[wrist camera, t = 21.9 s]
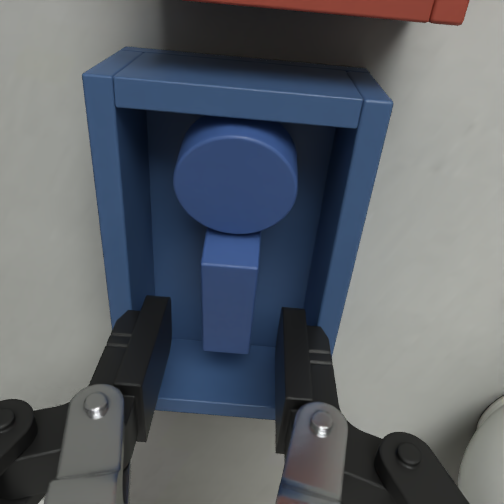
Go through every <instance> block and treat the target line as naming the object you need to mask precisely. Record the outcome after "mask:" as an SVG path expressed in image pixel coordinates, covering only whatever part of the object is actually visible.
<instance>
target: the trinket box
mask: <svg viewBox="0 0 504 504" xmlns="http://www.w3.org/2000/svg"><path fill="white" fill-rule="evenodd" d="M458 488H459V489H460V491H461V492H462V494H463V495H464V496H465V498H466V499H467V501H468V502H469V503H470V504H504V396H502V397H501V398H499V399H498V400H496V401H495V402H494V403H493V404H492V405H490V406H489V407H488V408H487V410H486V411H485V412H484V413H483V414H482V416H481V418H480V420H479V422H478V425H477V430H476V432H475V434H474V435H473V437H472V439H471V440H470V442H469V444H468V446H467V448H466V450H465V452H464V456H463V459H462V462H461V466H460V470H459V475H458Z"/></svg>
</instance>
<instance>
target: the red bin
mask: <svg viewBox="0 0 504 504" xmlns="http://www.w3.org/2000/svg"><path fill="white" fill-rule="evenodd" d="M184 1H195V2H205V3H216V4H227V5H238V6H249V7H260V8H270V9H281V10H292V11H303V12H314V13H325V14H335V15H346V16H357V17H368V18H379V19H389V20H400V21H411V22H422V23H426V22H430V23H434V24H445V25H456V26H458V25H461V24H462V23H463V20H464V17H465V14H466V10H467V7H468V4H469V0H184Z"/></svg>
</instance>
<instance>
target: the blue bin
mask: <svg viewBox="0 0 504 504" xmlns="http://www.w3.org/2000/svg"><path fill="white" fill-rule="evenodd" d="M82 80H83V88H84V97H85V105H86V114H87V122H88V130H89V139H90V147H91V156H92V164H93V172H94V181H95V189H96V198H97V206H98V215H99V223H100V231H101V240H102V248H103V257H104V265H105V273H106V282H107V290H108V299H109V307H110V316H111V324H112V330H113V328H114V325H115V323H116V321H117V320H118V319H119V318H120V317H121V316H122V315H123V314H124V313H125V312H126V311H127V310H136V311H141V308H142V305H143V302H144V300H145V297H146V296H147V295H153V296H164V297H170V298H171V313H172V341H171V348H170V353H169V357H168V361H167V365H166V368H165V372H164V376H163V380H162V384H161V388H160V391H159V395H158V399H157V403H156V407H155V410H160V411H172V412H184V413H196V414H208V415H220V416H233V417H245V418H257V419H269V420H275V350H276V341H277V334H278V327H279V320H280V313H281V308H282V307H291V308H303V309H305V312H306V322H307V325H310V326H321V328H322V329H323V331H324V332H325V334H326V335H327V337H328V338H329V343H330V350H331V357H332V354H333V350H334V346H335V342H336V338H337V333H338V329H339V325H340V321H341V317H342V313H343V309H344V305H345V301H346V297H347V292H348V288H349V284H350V280H351V276H352V272H353V268H354V264H355V260H356V255H357V251H358V247H359V243H360V239H361V235H362V231H363V227H364V223H365V219H366V214H367V210H368V206H369V202H370V198H371V194H372V190H373V186H374V182H375V178H376V173H377V169H378V165H379V161H380V157H381V153H382V149H383V145H384V141H385V137H386V132H387V128H388V124H389V120H390V116H391V112H392V108H393V101H392V100H391V99H390V98H389V96H388V95H387V94H386V93H385V91H384V90H383V89H382V88H381V87H380V85H379V84H378V83H377V82H376V80H375V79H374V78H373V77H372V75H371V74H370V72H369V71H368V70H367V69H366V68H357V67H346V66H335V65H324V64H313V63H302V62H291V61H280V60H269V59H258V58H247V57H236V56H225V55H214V54H203V53H192V52H181V51H170V50H159V49H148V48H137V47H124V48H122V49H121V50H120V51H118V52H116V53H115V54H113V55H112V56H110V57H108V58H107V59H105V60H104V61H102V62H100V63H99V64H97V65H96V66H94V67H92V68H91V69H89V70H88V71H86V72H85V73H83V74H82ZM204 115H206V116H217V117H228V118H239V119H251V120H262V121H273V122H279V123H280V124H281V125H282V126H283V127H284V128H285V129H286V130H287V132H288V133H289V134H290V136H291V138H292V140H293V142H294V144H295V147H296V151H297V167H298V192H297V197H296V201H295V203H294V205H293V207H292V208H291V210H290V212H289V213H288V214H287V215H286V216H285V217H284V218H283V219H282V220H281V221H280V222H278V223H277V224H275V225H274V226H272V227H270V228H268V229H265V230H263V231H261V243H260V260H259V273H258V282H257V290H256V299H255V308H254V316H253V325H252V333H251V342H250V351H249V354H236V353H224V352H212V351H204V350H203V348H202V313H201V275H200V262H201V257H202V251H203V245H204V240H205V234H206V229H207V227H206V226H204V225H202V224H200V223H199V222H197V221H196V220H194V219H193V218H192V217H191V216H190V215H188V214H187V212H186V211H185V210H184V209H183V208H182V206H181V205H180V203H179V201H178V199H177V197H176V194H175V191H174V187H173V174H174V169H175V166H176V162H177V158H178V155H179V151H180V148H181V144H182V141H183V138H184V136H185V134H186V132H187V131H188V129H189V128H190V127H191V125H192V124H193V123H195V122H196V121H197V120H198V119H199V118H201V117H202V116H204Z"/></svg>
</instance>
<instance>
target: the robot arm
mask: <svg viewBox="0 0 504 504" xmlns="http://www.w3.org/2000/svg"><path fill="white" fill-rule="evenodd" d="M171 341H172V313H171V298H170V297H164V296H153V295H147V296H146V297H145V300H144V302H143V305H142V308H141V311H136V310H127V311H126V312H125V313H124V314H123V315H122V316H121V317H120V318H119V319H118V320H117V321H116V323H115V325H114V328H113V330H112V332H111V336H110V337H109V339H108V342H107V346H105V349H104V351H103V353H102V356H101V358H100V360H99V363H98V365H97V367H96V370H95V372H94V374H93V377H92V379H91V381H90V384H89V386H88V387H86V388H84V389H82V390H80V391H79V392H78V393H77V394H76V395H75V396H74V397H73V398H72V399H71V401H70V402H69V403H67V404H64V405H61V406H57V407H52V408H46V409H41V410H36V411H33V409H32V407H31V406H30V405H29V404H28V403H27V402H25V401H22V400H18V399H8V400H3V401H0V504H38V503H39V502H40V501H41V499H42V498H43V497H44V496H45V501H44V504H130V485H131V457H132V454H133V450H134V447H135V443H136V441H138V442H146V441H147V437H148V434H149V430H150V426H151V422H152V418H153V414H154V411H155V407H156V403H157V399H158V395H159V391H160V388H161V384H162V380H163V376H164V372H165V368H166V365H167V361H168V357H169V353H170V348H171ZM275 424H276V453H280V454H285V465H284V469H283V474H282V478H281V483H280V486H279V490H278V495H277V499H276V504H470V503H469V502H468V501H467V499H466V498H465V496H464V495H463V494H462V492H461V491H460V489H459V488H458V487H457V485H456V484H455V482H454V481H453V480H452V478H451V477H450V475H449V474H448V473H447V471H446V470H445V468H444V467H443V466H442V464H441V463H440V461H439V460H438V459H437V457H436V456H435V454H434V453H433V452H432V450H431V449H430V448H429V446H428V445H427V444H426V443H425V442H423V441H422V440H421V439H419V438H418V437H416V436H414V435H412V434H409V433H405V432H394V433H390V434H388V435H387V436H385V437H384V438H383V439H381V438H378V437H376V436H373V435H370V434H368V433H365V432H363V431H361V430H359V429H357V428H355V427H354V426H353V425H351V424H350V423H349V422H348V421H347V420H346V418H345V417H344V415H343V414H342V413H341V411H340V408H339V404H338V397H337V390H336V383H335V377H334V370H333V365H332V357H331V350H330V343H329V338H328V337H327V335H326V334H325V332H324V331H323V329H322V328H321V326H310V325H307V322H306V312H305V309H303V308H291V307H282V308H281V313H280V320H279V327H278V334H277V341H276V350H275ZM45 494H46V495H45Z"/></svg>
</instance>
